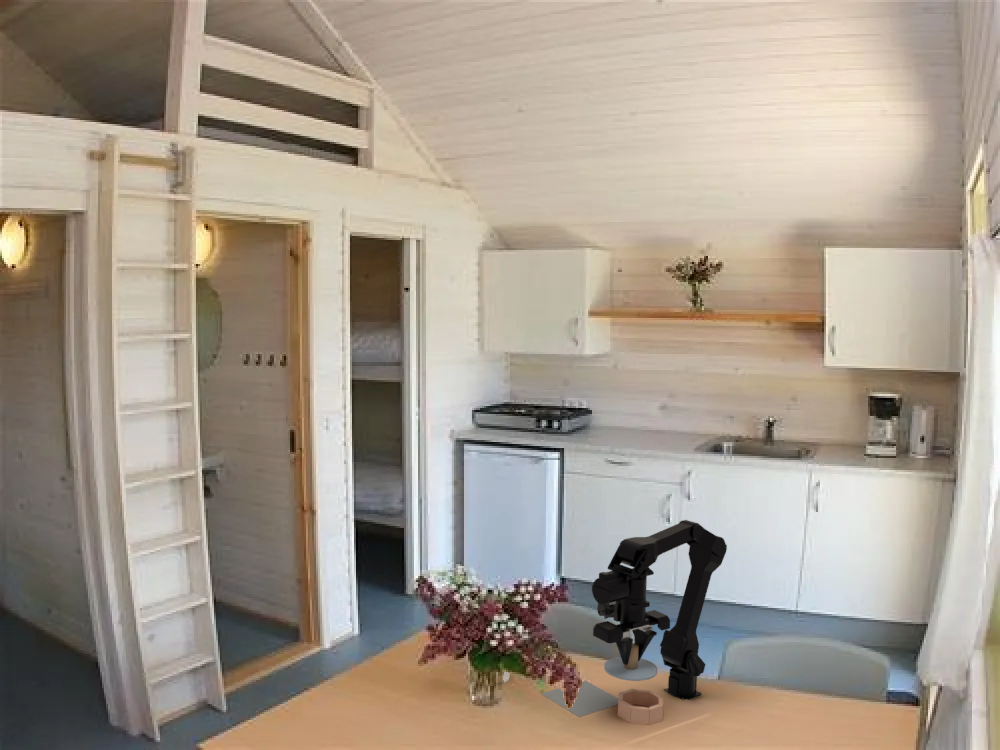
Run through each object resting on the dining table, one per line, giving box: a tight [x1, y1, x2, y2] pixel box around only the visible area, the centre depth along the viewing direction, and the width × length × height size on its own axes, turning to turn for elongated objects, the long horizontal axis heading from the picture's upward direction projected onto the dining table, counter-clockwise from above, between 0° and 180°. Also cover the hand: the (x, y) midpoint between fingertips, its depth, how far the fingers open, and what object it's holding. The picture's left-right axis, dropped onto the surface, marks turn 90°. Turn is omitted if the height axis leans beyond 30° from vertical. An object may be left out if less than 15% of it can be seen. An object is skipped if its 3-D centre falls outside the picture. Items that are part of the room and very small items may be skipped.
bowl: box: [617, 688, 664, 726], centre depth 200 cm, size 10×10×4 cm
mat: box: [540, 680, 618, 718], centre depth 207 cm, size 14×14×1 cm
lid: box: [603, 642, 658, 682], centre depth 201 cm, size 12×12×6 cm
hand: (631, 662), depth 201 cm, fingers closed on lid, 3 cm apart
